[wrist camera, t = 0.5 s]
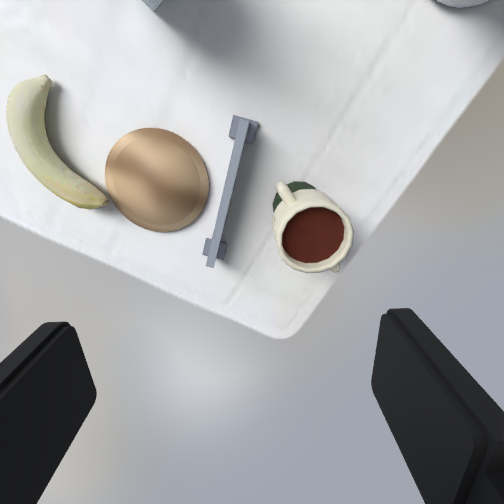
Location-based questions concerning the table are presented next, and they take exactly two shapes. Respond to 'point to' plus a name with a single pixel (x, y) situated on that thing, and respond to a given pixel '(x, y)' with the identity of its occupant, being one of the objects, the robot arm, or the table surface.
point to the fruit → (45, 145)
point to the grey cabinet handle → (229, 186)
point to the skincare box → (152, 3)
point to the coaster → (156, 179)
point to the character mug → (310, 228)
